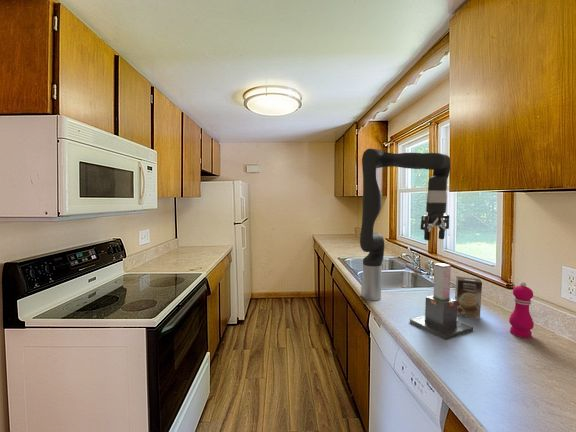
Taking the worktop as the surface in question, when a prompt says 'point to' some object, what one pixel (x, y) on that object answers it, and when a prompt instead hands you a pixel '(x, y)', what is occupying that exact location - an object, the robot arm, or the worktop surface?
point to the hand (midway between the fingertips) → (434, 239)
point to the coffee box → (468, 297)
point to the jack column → (442, 281)
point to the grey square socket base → (441, 319)
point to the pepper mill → (521, 312)
